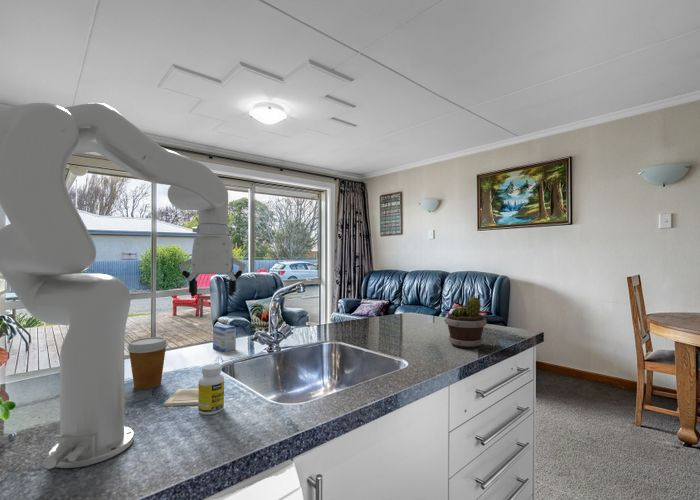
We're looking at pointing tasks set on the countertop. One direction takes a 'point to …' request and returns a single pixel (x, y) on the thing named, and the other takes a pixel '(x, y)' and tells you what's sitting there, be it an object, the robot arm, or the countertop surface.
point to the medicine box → (224, 337)
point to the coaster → (183, 397)
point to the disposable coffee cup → (147, 361)
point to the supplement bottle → (211, 390)
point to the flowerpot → (466, 324)
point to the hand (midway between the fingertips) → (212, 295)
